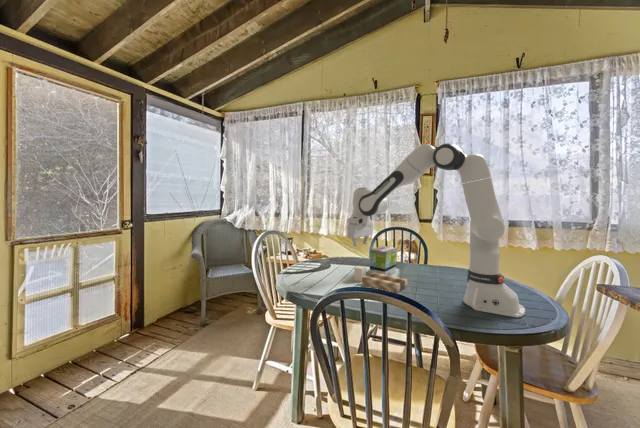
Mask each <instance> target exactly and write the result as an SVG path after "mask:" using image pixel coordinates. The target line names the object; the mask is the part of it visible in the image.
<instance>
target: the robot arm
mask: <svg viewBox="0 0 640 428" xmlns="http://www.w3.org/2000/svg"><path fill="white" fill-rule="evenodd" d="M435 166H436V167H437V168H438V169H441V170H444V171H456V172H457V173H458V174H459V176H460V180H461V181H460V182H461V184H462V189H463V194H464V195H463V196H464V199H465V202H466V207H467V210H468V214H469V218H470V222H469V263H468V269H467V273H466V274H467V275H466V282H467V286H466V290H465V294H464V296H463V298H462V302H463V303H464V304H466V305H467V306H469V307H471V308H472V309H473V310H474V311H478V312H484V313H489V314H494V315H500V316H506V317H512V318H517V319H518V318H522V317H523V316H524V315H525V314H526V308H525V307H524V306H523V304H520V301H519V297H518V294H517V292H515V291H514V290H513V289H511V288H510V287H509V286H508V285H506V284H505V275H504V274H501V273H500V259H501V257H500V256H501V253H500V252H501V251H500V244H499V243H500V241H499V240H500V239H501V238H502V237H503V235H504V233H505V227H506V226H505V223H504V219H503V216H502V211H501V209H500V206H499V203H498V199H497V196H496V193H495V189H494V185H493V184H494V183H493V180H492V179H493V178H492V176H491V175H492V174H491V171H490V168H489V165H488V163H487V161H486V159H485V156H483V155H482V154H479V153H472V154H465V152H464V150H463V149H462V148H461V147H459V146H458V145H456V144H453V143H450V142H448V143H443V144H440V145H439V146H438V147H436V148H435V147H434V146H432V145H431V144H429V143H421V144H420V145H418V146H417V147H416V148H414V149H413V150H412V151H411V152H410V153H409V154H408V155H406V157H405V158H404V159H403V160H402V161H401V162H400V164H399V165H397V167H395V169H393V171H392V172H391V173H390V174H389V175H388V176H387V177H386V178H385V179H383V181H381V182H380V184H379V185H377V186H376V187H375V188H374V189H373V190H372V189H370V188H369V187H360V188H356V189H355V190H354V192H353V197H352V207H353V210H352V215H351V216H350V217H348V218H347V220H346V222H347V228H346V232H347V233H346V235H347V238H348V239H351V241H352V243H353V244H352V245H353V247H354V248H355V247H358V246H359V243H358V242H357V240H358V239H359V238H363V237H364V238H363V240H362V244H363V245H367V244H368V240H369V236H372V235H373V233H374V226H373V225H374V224H373V222H372V218H371V216H373V215H378V214H379V215H380V214H382V213H385V212H386V211H387V210H388V208H389V199H388V198H387V197H388V196H389V195H390V194H391V193H393V192H394V191H395V190H396V189H399V188H401V187H403V186H407V185H411V184H413V183H414V182H416V181H417V180H419V179H420V178H421V177H422V176H423V175H425V173H427V171H428V170H429V169H431V168H432V167H435Z"/></svg>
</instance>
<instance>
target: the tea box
mask: <svg viewBox="0 0 640 428" xmlns="http://www.w3.org/2000/svg"><path fill="white" fill-rule="evenodd" d="M369 254H370V255H369V273H368V274H369V275H370V274H371V273H372V272H376V273H380V274H385V275H390V276H392V275H393V274H394V273H396V272H397V257H398V248H397V247H393V246H386V245H380V246H377V247H374V248H371V249H370V253H369ZM369 275H368V276H369Z"/></svg>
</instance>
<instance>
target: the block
mask: <svg viewBox="0 0 640 428" xmlns="http://www.w3.org/2000/svg"><path fill="white" fill-rule="evenodd" d="M353 271H354V273H353V275H354V276H353V280H354V281H356V282H358V283H362V277H363V276H367V267H366V266H361V265H356V266H355V267H354V270H353Z"/></svg>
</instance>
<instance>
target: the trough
mask: <svg viewBox="0 0 640 428" xmlns="http://www.w3.org/2000/svg"><path fill="white" fill-rule="evenodd" d="M361 285H362V286H365V285H366V286H365V287H369V288H370V287H371V288H373V287H374V289H377V288H379V290H381V289H384V290H383V291H386V290H388V291H387V292H390V291H392V292H391V293H394V292H395V294H398V293H400V292H402V291H403V290H405V289H406V288H407V287H408V279H407V278H403V277H399V276H396V275H395V276H394V275H385V274H380V273H376V272H372V273H371V274H370V276H369V275H366V276H363V277H362V282H361Z"/></svg>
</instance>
